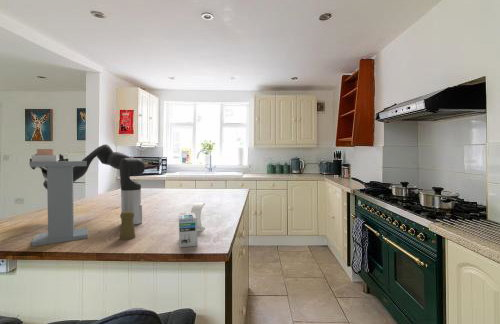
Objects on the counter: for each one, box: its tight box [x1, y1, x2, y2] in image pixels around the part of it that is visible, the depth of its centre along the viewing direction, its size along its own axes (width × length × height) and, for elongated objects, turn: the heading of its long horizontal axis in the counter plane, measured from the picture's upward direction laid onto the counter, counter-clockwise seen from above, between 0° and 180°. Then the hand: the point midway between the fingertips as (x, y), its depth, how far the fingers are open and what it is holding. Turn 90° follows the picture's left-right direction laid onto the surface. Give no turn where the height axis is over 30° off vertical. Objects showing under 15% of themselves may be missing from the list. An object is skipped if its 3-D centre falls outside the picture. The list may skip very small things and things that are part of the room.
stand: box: [29, 154, 89, 247], centre depth 107 cm, size 18×13×34 cm
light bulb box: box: [178, 212, 198, 248], centre depth 100 cm, size 11×7×11 cm, turn 16°
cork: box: [118, 211, 136, 241], centre depth 107 cm, size 6×6×11 cm
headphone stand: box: [190, 202, 206, 232], centre depth 118 cm, size 5×6×12 cm
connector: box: [36, 148, 55, 155], centre depth 109 cm, size 5×17×5 cm, turn 33°
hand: (48, 155), depth 115 cm, fingers open, 8 cm apart
